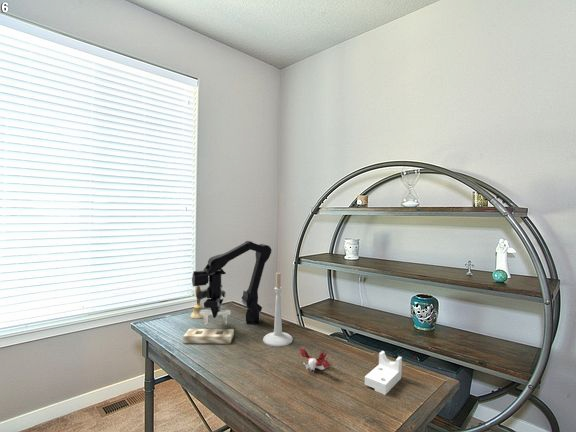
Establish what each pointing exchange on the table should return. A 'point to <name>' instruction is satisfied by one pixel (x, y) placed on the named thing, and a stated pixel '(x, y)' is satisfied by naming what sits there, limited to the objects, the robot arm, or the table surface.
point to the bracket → (384, 374)
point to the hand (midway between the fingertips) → (215, 316)
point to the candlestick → (278, 322)
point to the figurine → (315, 360)
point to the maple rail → (209, 336)
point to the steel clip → (220, 312)
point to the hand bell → (197, 307)
